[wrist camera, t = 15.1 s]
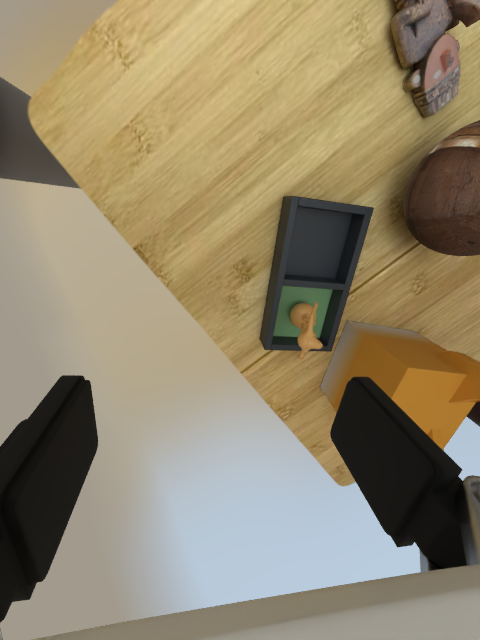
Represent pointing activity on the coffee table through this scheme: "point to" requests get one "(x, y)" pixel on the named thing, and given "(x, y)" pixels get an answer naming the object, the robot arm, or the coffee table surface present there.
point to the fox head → (407, 375)
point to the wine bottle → (475, 413)
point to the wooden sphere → (447, 195)
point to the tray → (312, 268)
